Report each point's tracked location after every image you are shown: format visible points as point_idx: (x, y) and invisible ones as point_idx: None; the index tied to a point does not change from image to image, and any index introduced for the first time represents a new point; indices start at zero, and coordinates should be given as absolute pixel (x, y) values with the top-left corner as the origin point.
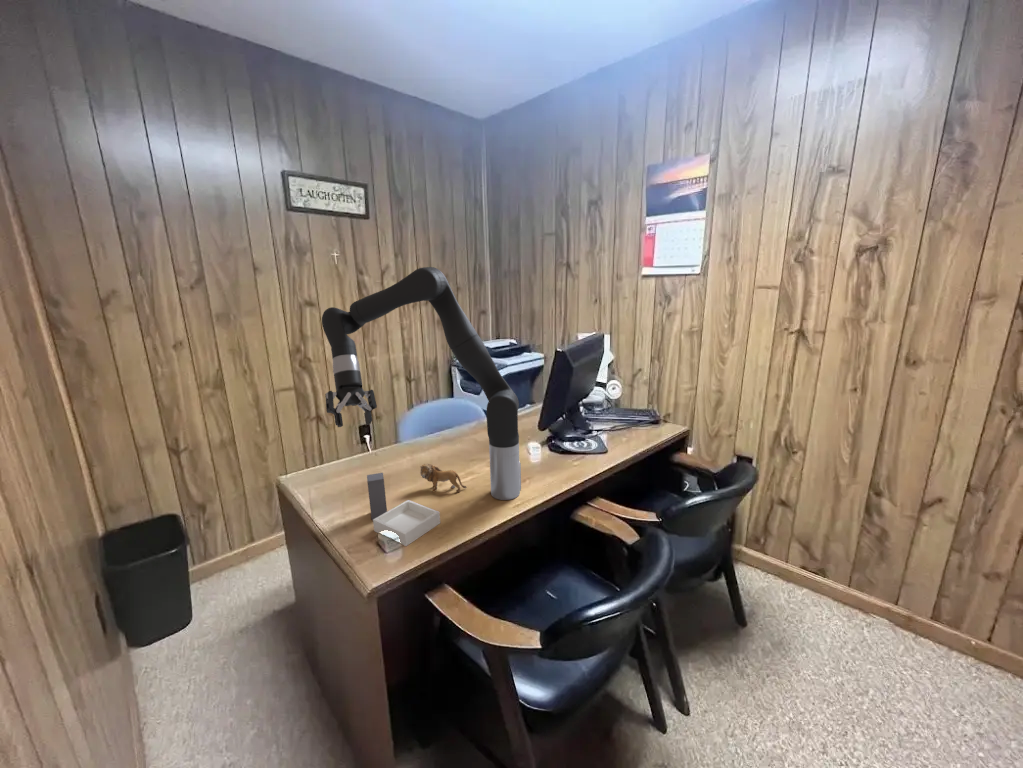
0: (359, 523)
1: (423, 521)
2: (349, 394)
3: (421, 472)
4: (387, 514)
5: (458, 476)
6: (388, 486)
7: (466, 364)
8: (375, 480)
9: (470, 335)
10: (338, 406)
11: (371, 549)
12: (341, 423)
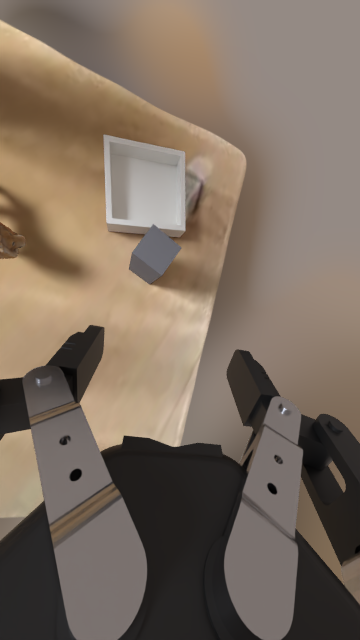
0: (178, 274)
1: (143, 144)
2: (250, 572)
3: (13, 252)
4: (160, 224)
5: None
6: (68, 335)
7: None
8: (167, 236)
9: None
10: (297, 439)
11: (207, 207)
12: (245, 354)
